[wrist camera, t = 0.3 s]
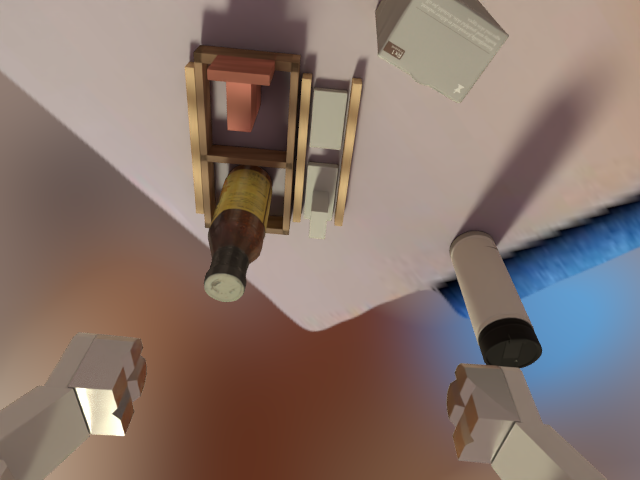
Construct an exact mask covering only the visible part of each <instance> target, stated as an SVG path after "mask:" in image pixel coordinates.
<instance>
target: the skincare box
mask: <svg viewBox="0 0 640 480" xmlns="http://www.w3.org/2000/svg"><path fill="white" fill-rule="evenodd" d="M375 15H376V16H375V17H376V29H377V43H378V56H379V57H380V58H382V59H384V60H385V61H387V62H389V63H390V64H392V65H394V66H395V67H397V68H399V69H400V70H402V71H404V72H406V73H407V74H409V75H411V77H412V78H413V79H414V80H415V81H416V82H417V83H419V84H421V85H426V86H429V87H431V88H432V89H434V90H436V91H437V92H439V93H441V94H442V95H444V96H446V97H448V98H449V99H451V100H453V101H454V102H456V103H461V102H462V100H463V99H464V98H465V96H466V95H467V94H468V92H469V91H470V89H471V88H472V87H473V85H474V84H475V82H476V81H477V80H478V78H479V77H480V76H481V74H482V73H483V71H484V70H485V69H486V67H487V66H488V64H489V63H490V62H491V60H492V59H493V57H494V56H495V55H496V53H497V52H498V50H499V49H500V48H501V46H502V45H503V44H504V42H505V41H506V40H507V38H508V37H509V35H508V34H507V33H506V32H505V31H504V30H503V29H502V28H501V27H500V25H499V24H498V23H497V22H496V21H495V20H494V18H493V17H492V16H491V15H490V14H489V13H488V11H487V10H486V9H485V8H484V7H483V5H482V4H481V3H480V2H479V1H478V0H382V1H381V3H380V4H379V6H378V8H377V10H376V12H375Z"/></svg>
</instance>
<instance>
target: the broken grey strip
mask: <svg viewBox="0 0 640 480" xmlns="http://www.w3.org/2000/svg"><path fill="white" fill-rule="evenodd" d="M347 94H348V93H347V91H346V90H336V89H326V88H316V87H314V98H313V111H312V123H311V135H310V147H314V148H324V149H335V150H341V142H342V134H343V126H344V118H345V110H346V102H347ZM337 174H338V164H327V163H316V162H308V171H307V184H306V196H305V208H304V219H310V230H309V238H316V239H325V232H326V224H327V221H332V214H333V206H334V198H335V190H336V182H337Z"/></svg>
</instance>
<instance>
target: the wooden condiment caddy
mask: <svg viewBox="0 0 640 480" xmlns="http://www.w3.org/2000/svg"><path fill="white" fill-rule="evenodd" d="M300 58H301V55H295V54H285V53H275V52H265V51H255V50H245V49H235V48H225V47H215V46H205V45H200V46H199V47H198V48H197V49H196V50H195V51H194V67H195V82H196V97H197V112H198V127H199V142H200V157H201V171H202V186H203V201H204V216H205V228H210V225H211V221H212V219H213V216H214V212H215V209H216V206H215V186H214V166H213V162H219V163H230V164H241V165H252V166H263V167H274V168H284V169H286V176H285V195H284V214H283V217H279V216H268V221H267V227H266V233H271V234H283V235H289V228H290V218H291V202H292V186H293V170H294V154H295V138H296V122H297V106H298V90H299V74H300ZM208 64H211V65H210V66H209V65H208ZM275 70H277V71H287V72H291V79H290V98H289V117H288V137H287V151H277V150H266V149H255V148H244V147H234V146H223V145H212V126H211V106H210V86H209V80H215V81H225V82H226V91H227V126H228V130H233V131H243V132H251V130H252V128H253V125H254V122H255V119H256V116H257V114H258V111H259V108H260V105H261V85H266V86H270V83H271V80H272V77H273V74H274V71H275Z"/></svg>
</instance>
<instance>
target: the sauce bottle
mask: <svg viewBox="0 0 640 480" xmlns="http://www.w3.org/2000/svg"><path fill="white" fill-rule="evenodd" d="M271 197H272V183H271V178H270V177H269V175H268V173H266V171H264V170H263V169H262V168H260V167H258V166H252V165H239V166H237V167H235V168H234V169H233V170H232V171H231V172H230V173H229V174H228V176H227V178H226V179H225V182H224V185H223V188H222V191H221V194H220V197H219V200H218V203H217V206H216V209H215V212H214V216H213V219H212V221H211V225H210V228H209V232H208V240H209V245H210V250H211V255H212V262H211V266H210V269H209V270H208V272H207V273H206V276H205V280H204V288H205V291H206V293H207V294H208V295H209V296H211V297H212V298H214V299H216V300H219V301H223V302H231V301H235V300H237V299H239V298H240V297H241V296H242V295H243V294H244V291H245V287H246V272H247V268H248V266H249V264H250V263H251V262H253V261H254V260H256V259H257V258H258V257H259V255H260V252H261V250H262V245H263V239H264V237H265V233H266V227H267V221H268V215H269V209H270V203H271Z"/></svg>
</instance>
